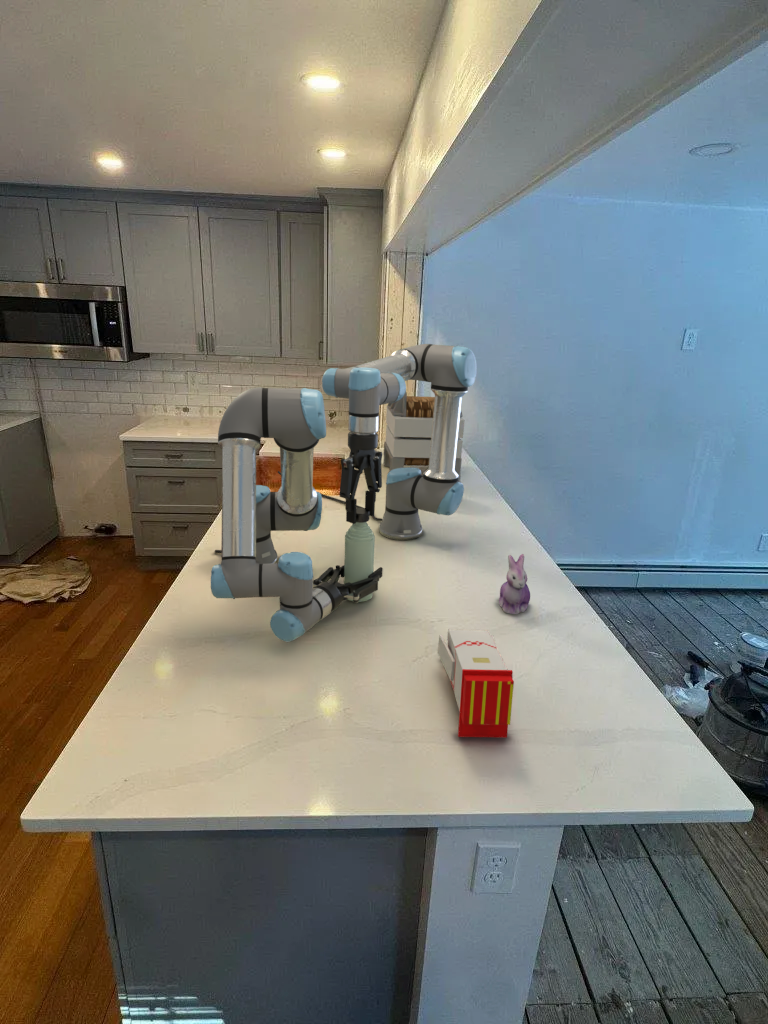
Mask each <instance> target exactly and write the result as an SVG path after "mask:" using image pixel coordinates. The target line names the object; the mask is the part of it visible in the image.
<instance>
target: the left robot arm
mask: <svg viewBox="0 0 768 1024" xmlns="http://www.w3.org/2000/svg"><path fill="white" fill-rule="evenodd" d="M326 421H327V420H326V411H325V402H324V396H323V394H322V391H320V390H318V389H313V388H306V387H302V388H300V387H299V388H292V387H291V388H290V387H289V388H287V387H284V388H283V387H277V388H276V387H260V386H259V387H252V388H249V389H247V390H244V391H243V392H241V393H240V394H238V395H237V396H236V397H235V398H234V399H233V400H232V401H231V402H230V404H229V405H228V406H227V408H226V409H225V411H224V412H223V415H222V418H221V420H220V422H219V427H218V432H217V445H218V447H219V448H220V449H221V451H222V455H221V456H222V457H221V459H222V460H221V461H222V463H221V464H222V465H221V467H222V468H221V549H215V550H214V553H215V554H220V555H221V556H220V558H221V560H220V563H219V564H214V565H213V566H212V568H211V571H210V590H211V594H212V596H213V597H214V598H216V599H233V600H236V599H250V598H252V599H253V598H279V609H278V610H276V611H275V613H273V614H272V616H271V618H270V621H269V625H270V630H271V631H272V633H273V634H274V636H275V637H276V638H277V639H278V640H280V641H283V642H286V643H290V642H293V641H295V640H296V639H298V638H299V637H303V635H305V633H307V632H308V630H311V628H313V627H314V626H315V625H316V624H318V623H319V622H320V621H322V620H324V618H326V617H327V616H328V615H330V614H331V613H333V612H334V611H335V610H337V609H338V608H339V607H340V606H341V604H342V602H345V601H347V600H348V599H353V601H352V602H353V603H354V604H357V603H359V602H358V601H359V600H360V599H362V598H364V597H365V596H367V595H369V594H371V593H375V592H377V591H378V590H379V582H380V579H381V578H382V577H383V572H384V571H383V570H384V569H383V567H381V566H380V567H378V568H377V569H375V570H373V573H371V574H370V575H369V576H368V578H367V579H364V580H360V581H357V582H354V583H350V582H348V583H345V584H344V583H341V582H339V580H340V578H344V564H343V565H341V566H340V565H338V564H337V565H335V568H334V567H333V566H330V567H328V568H327V569H326V570H325V571H324V572H323V573H322V574H321V575H319V577H317V578H315V579H314V573H313V572H314V569H313V560H312V558H311V556H310V555H308V554H307V553H306V552H302V551H290V552H284V553H283V554H281V555H280V556H279V557H278V552H277V550H276V549H275V545H274V542H273V540H272V532H286V531H291V532H292V531H293V532H295V531H296V532H297V531H299V532H300V531H301V532H308V531H316V530H317V529H318V528H319V527H320V524H321V520H322V512H323V496H321V494H322V493H321V492H319V491H317V490H316V489H315V487H314V486H313V483H314V481H313V480H314V450H315V447H316V446H317V445H318V444H319V442H320V440H322V439H326V437H327V422H326ZM262 438H264V439H273V441H274V443H275V445H276V446H278V448H279V461H280V463H279V464H280V472H281V475H280V481H281V483H280V484H281V486H280V487H279V489H278V490H277V491H271V489H270V487H269V486H267V485H261V484H257V452H258V451H257V450H259V449H260V448H261V446H262V443H261V441H262ZM320 493H321V494H320Z"/></svg>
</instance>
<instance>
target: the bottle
mask: <svg viewBox="0 0 768 1024" xmlns="http://www.w3.org/2000/svg"><path fill="white" fill-rule="evenodd" d="M375 538H376V536H375V533H374V531H373V529H372V528H371V526H370V525H369V523H368V522H364V523H359V522H356V523H355V524H353V523H351V525H350V527H349V528H348V530H346V532H345V535H344V563H343V565H344V577H343V584H345V583H348V582H350V583H354V582H357V581H360V580H364V579H367V578H368V576H369V575H370V574H371V573H373V572H374V569H375V568H374V567H375V566H374V565H375V541H376V539H375ZM373 593H374V592H373ZM373 593H371V594H369V595H367V596H365V597H364V598H362V599H360V600H359V601H358V602H357V603H363V602H367V601H369V600H371V599H373V598H372V597H373ZM347 600H348V601H350V602H353V599H347Z"/></svg>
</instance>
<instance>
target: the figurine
mask: <svg viewBox="0 0 768 1024" xmlns="http://www.w3.org/2000/svg"><path fill="white" fill-rule="evenodd" d="M507 561H508V562H507V563H508V571H507V573H506V576H505V578H506V581H505V582H504V583H503V584H501V586H500V588H499V589H500V590H499V598H498V605H499V607H500V608H501V609H502V611H503V612H504V613H507V614H511V615H518V614H519V613H525V612H526V611H527V609H528V607H529V604H530V601H531V591H530V588H529V585H528V584H527V582H528V575H527V571H526V570H525V568H524V567H525V566H524V563H525V554H524V553H521V554H520V555H519V557H518V558H517V560H515V559H514V557H513V556H512V555H511V554H509V555H508V556H507Z"/></svg>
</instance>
